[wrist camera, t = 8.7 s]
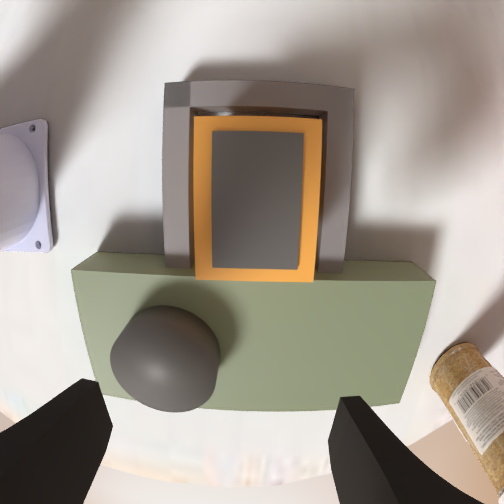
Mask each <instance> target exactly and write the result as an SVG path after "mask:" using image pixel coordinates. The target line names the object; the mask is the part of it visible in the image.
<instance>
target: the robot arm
mask: <svg viewBox="0 0 504 504" xmlns="http://www.w3.org/2000/svg"><path fill="white" fill-rule="evenodd" d="M34 125H35V131H34V132H33V127H34ZM47 139H48V123H47V121H46V120H44V119H37V120H32V121H28V122H24V123H20V124H16V125H12V126H8V127H5V128H1V129H0V251H14V252H36V253H48V252H50V251H51V250H52V249H53V237H52V228H51V218H50V206H49V190H48V163H47ZM39 241H40V243H41V246H40V245H39ZM112 428H113V425H112V422H111V419H110V416H109V413H108V410H107V408H106V405H105V401H104V398H103V395H102V392H101V389H100V386H99V382H97V381H92V380H87V379H80V380H79V381H77V382H76V383H74V384H73V385H71V386H70V387H69V388H67V389H66V390H64V391H63V392H62V393H60V394H59V395H57V396H56V397H55V398H53V399H52V400H50V401H49V402H48V403H46V404H45V405H43V406H42V407H40V408H39V409H38V410H36V411H35V412H33V413H32V414H30V415H29V416H27V417H25V418H24V419H22V420H21V421H19V422H17V423H16V424H14V425H13V426H11V427H9V428H8V429H6V430H4V431H2V432H1V433H0V504H83V503H84V500H85V498H86V495H87V493H88V491H89V489H90V486H91V484H92V481H93V479H94V477H95V475H96V472H97V470H98V468H99V466H100V464H101V461H102V459H103V457H104V454H105V452H106V449H107V445H108V442H109V439H110V435H111V431H112ZM328 445H329V454H330V463H331V470H332V474H333V478H334V482H335V486H336V490H337V494H338V498H339V502H340V504H484V503H482V502H480V501H478V500H476V499H474V498H473V497H471V496H469V495H467V494H465V493H464V492H462V491H460V490H459V489H457V488H456V487H454V486H452V485H451V484H450V483H449V482H447V481H446V480H444V479H443V478H442V477H440V476H439V475H438V474H436V473H435V472H434V471H432V470H431V469H430V468H429V467H428V466H427V465H425V464H424V463H423V462H422V461H421V460H420V459H419V458H418V457H417V456H415V455H414V454H413V453H412V452H411V451H410V450H409V449H408V448H407V447H406V446H405V445H404V444H403V443H402V442H401V441H400V440H399V439H398V438H397V437H396V436H395V435H394V433H393V432H392V431H391V430H390V429H389V428H388V427H387V426H386V425H385V424H384V422H383V421H382V420H381V419H380V418H379V417H378V416H377V415H376V413H375V412H374V411H373V410H372V409H371V408H370V406H369V405H368V404H367V403H366V402H365V401H364V400H363V398H362V397H361V396H347V397H340V399H339V403H338V407H337V411H336V414H335V418H334V422H333V425H332V429H331V432H330V435H329V439H328Z"/></svg>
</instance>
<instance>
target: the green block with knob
mask: <svg viewBox="0 0 504 504" xmlns="http://www.w3.org/2000/svg"><path fill="white" fill-rule="evenodd" d="M198 112H255V113H280V114H297V115H310V116H319V119H322V151H321V177H320V198H319V215H318V230H317V244H316V257H315V269H314V280H313V282H262V281H223V280H196V275H195V247H194V195H193V153H194V116H198ZM353 133H354V89H352V88H344V87H337V86H328V85H319V84H308V83H296V82H280V81H256V80H211V81H186V82H171V83H165V88H164V109H163V146H162V191H163V229H164V252H165V255H164V254H136V253H108V252H96V253H95V254H93V255H92V256H90V257H89V258H87V259H86V260H84V261H83V262H81V263H80V264H78V265H77V266H76V267H74V268H73V269H71V274H72V280H73V286H74V291H75V297H76V302H77V307H78V312H79V317H80V322H81V326H82V331H83V335H84V339H85V343H86V347H87V351H88V355H89V359H90V362H91V366H92V369H93V373H94V376H95V380H96V381H97V382H99V386H100V389H101V392H102V394H103V395H108V396H113V397H119V398H125V399H130V400H137V401H139V402H140V403H142V404H144V405H146V406H148V407H151V408H153V409H157V410H160V411H166V412H186V411H190V410H193V409H196V408H204V409H218V410H236V411H319V410H337V407H338V403H339V399H340V397H347V396H361V397H362V398H363V400H364V401H365V402H366V403H367V404H368V405H369V406H370V407H372V406H381V405H389V404H396V403H399V402H400V400H401V397H402V395H403V392H404V389H405V387H406V384H407V381H408V378H409V376H410V373H411V370H412V367H413V364H414V361H415V358H416V355H417V352H418V348H419V345H420V342H421V338H422V335H423V332H424V328H425V324H426V321H427V317H428V313H429V309H430V305H431V301H432V297H433V293H434V289H435V284H436V280H434V279H433V278H432V277H431V276H429V275H428V274H427V273H425V272H424V271H423V270H422V269H420V268H419V267H418V266H416V265H415V264H414V263H413V262H400V261H362V260H344V256H345V247H346V237H347V227H348V216H349V205H350V191H351V176H352V158H353Z"/></svg>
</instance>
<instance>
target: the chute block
mask: <svg viewBox="0 0 504 504" xmlns="http://www.w3.org/2000/svg"><path fill="white" fill-rule="evenodd" d="M321 151H322V119H311V118H295V117H275V116H194V153H193V195H194V247H195V275H196V280H223V281H262V282H313V280H314V269H315V257H316V244H317V230H318V215H319V198H320V177H321Z"/></svg>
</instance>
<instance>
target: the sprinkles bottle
mask: <svg viewBox="0 0 504 504" xmlns="http://www.w3.org/2000/svg"><path fill="white" fill-rule="evenodd" d="M430 385H431V387H432V389H433V390H434V391H435V392H436V393H438V395H439V396H440V398H441V399H442V401H443V403H444V404H445V406H446V407H447V409H448V410H449V414H450V416H451V417H452V419H453V420H454V422H455V424H456V425H457V427H458V429H459V430H460V432H461V433H462V435H463V437H464V438H465V440H466V441H467V443H469V444H470V446H471V448H472V450H473V451H474V453H475V455H476V456H477V458H478V460H479V461H480V463H481V464H482V467H483V468H484V470H485V472H486V473H487V474H488V476H489V478H490V480H491V481H492V484H493V485H494V487H495V488H496V490H497V496H498V497H500V498H499V504H504V377H503V376H502V375H501V374H500V373H499V372H498V371H497V370H496V369H495V368H493V367H492V366H491V365H490V363H489V362H488V361H487V360H486V359H485V358H484V357H483V356H482V355H481V354H480V353H479V351H478V349H477V347H476V346H475V345H473V344H472V343H461V344H459V345H456V346H453V347H452V348H450V349H449V350H448V351H447V352H446V353H444V354H443V355H442V356H441V357H440V359H439V360H438V361H437V362H436V364H435V365H434V367H433V369H432V372H431V375H430Z"/></svg>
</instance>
